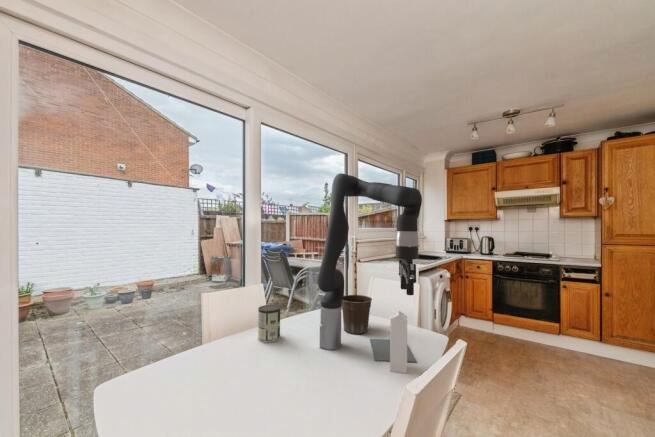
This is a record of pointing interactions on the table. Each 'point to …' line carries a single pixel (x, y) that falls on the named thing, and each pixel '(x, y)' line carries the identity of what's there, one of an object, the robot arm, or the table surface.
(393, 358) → the milk
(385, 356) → the mat
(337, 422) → the table surface
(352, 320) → the plant pot
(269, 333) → the coffee can
